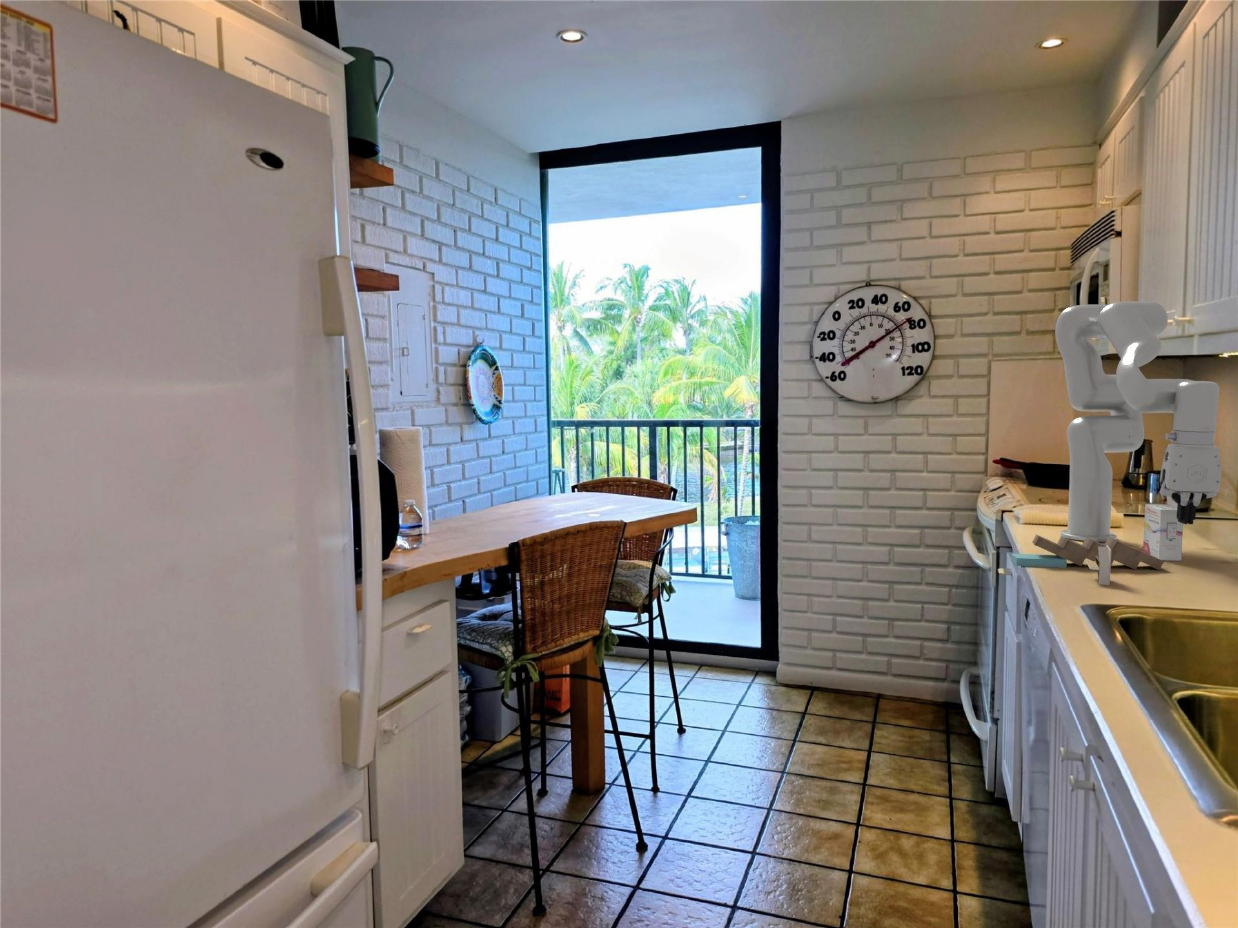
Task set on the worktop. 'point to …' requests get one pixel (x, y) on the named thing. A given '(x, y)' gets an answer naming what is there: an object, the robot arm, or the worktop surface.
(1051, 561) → the domino
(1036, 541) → the domino
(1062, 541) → the domino
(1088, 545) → the domino
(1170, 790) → the worktop surface
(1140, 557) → the domino
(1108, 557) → the architectural model
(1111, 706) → the worktop surface
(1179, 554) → the ink cartridge box
